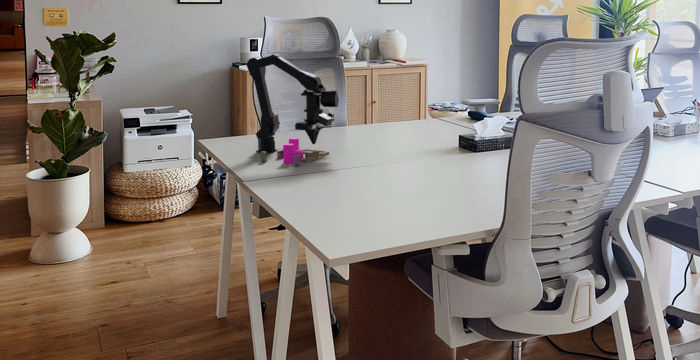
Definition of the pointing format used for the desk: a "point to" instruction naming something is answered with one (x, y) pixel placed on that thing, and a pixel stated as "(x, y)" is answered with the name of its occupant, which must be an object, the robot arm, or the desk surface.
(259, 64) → the robot arm
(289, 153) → the magenta curved bracket
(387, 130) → the desk surface
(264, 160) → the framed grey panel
